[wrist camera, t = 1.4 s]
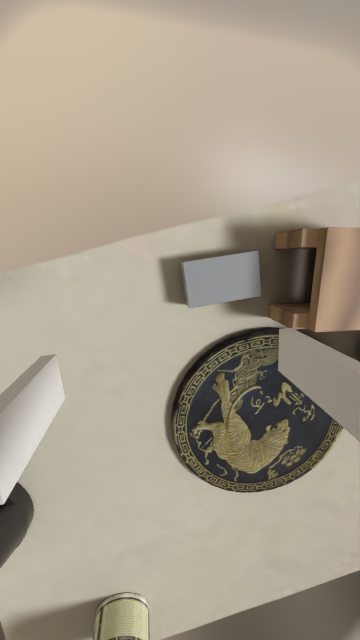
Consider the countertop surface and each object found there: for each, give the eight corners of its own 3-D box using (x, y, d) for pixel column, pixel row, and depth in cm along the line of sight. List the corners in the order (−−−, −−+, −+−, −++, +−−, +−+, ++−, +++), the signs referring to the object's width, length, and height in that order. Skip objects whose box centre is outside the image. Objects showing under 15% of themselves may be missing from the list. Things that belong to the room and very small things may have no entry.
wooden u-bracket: (268, 317, 38) (299, 332, 31) (275, 233, 36) (311, 227, 28) (335, 314, 40) (381, 328, 32) (347, 233, 37) (400, 227, 29)
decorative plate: (278, 287, 36) (383, 411, 44) (272, 285, 38) (374, 405, 45) (131, 428, 39) (254, 521, 46) (131, 420, 41) (250, 511, 48)
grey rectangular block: (186, 304, 37) (189, 308, 34) (180, 261, 35) (183, 262, 32) (252, 292, 38) (261, 295, 35) (249, 251, 36) (258, 250, 33)
